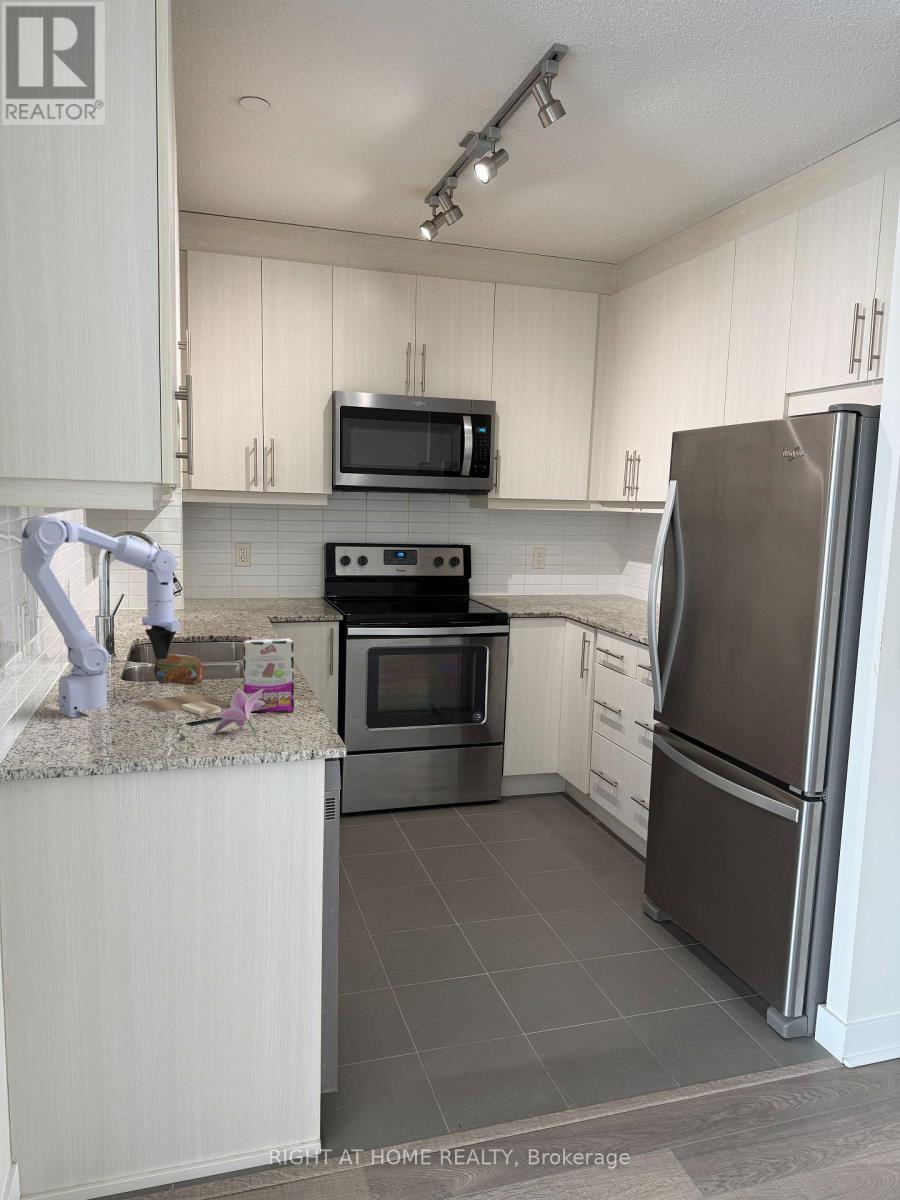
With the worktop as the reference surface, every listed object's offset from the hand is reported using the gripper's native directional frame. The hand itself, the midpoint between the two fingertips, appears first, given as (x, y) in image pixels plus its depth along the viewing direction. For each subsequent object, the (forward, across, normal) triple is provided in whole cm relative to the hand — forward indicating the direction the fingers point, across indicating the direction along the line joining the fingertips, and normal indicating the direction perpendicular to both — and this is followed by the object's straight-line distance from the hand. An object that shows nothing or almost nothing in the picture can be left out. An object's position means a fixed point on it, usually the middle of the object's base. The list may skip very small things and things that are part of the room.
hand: (161, 658), depth 194 cm
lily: (+11, -35, +1) cm, 37 cm away
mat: (+10, -20, 0) cm, 22 cm away
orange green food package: (+11, +14, -12) cm, 21 cm away
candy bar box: (+11, -23, -14) cm, 29 cm away
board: (+10, -8, 0) cm, 13 cm away
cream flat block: (+10, -18, 0) cm, 21 cm away
